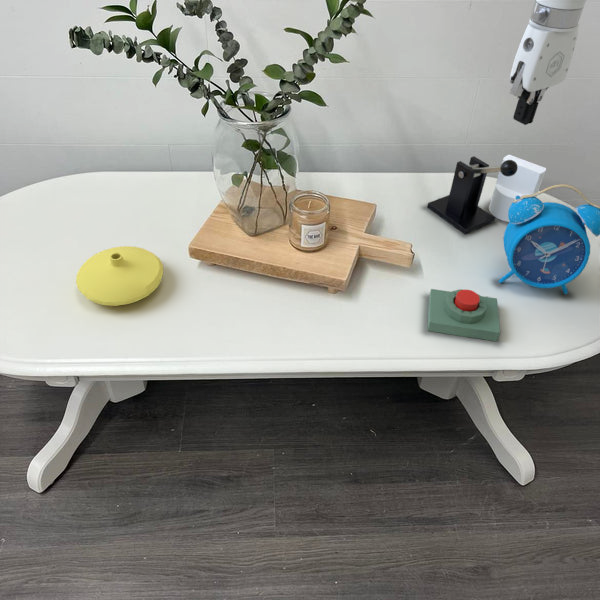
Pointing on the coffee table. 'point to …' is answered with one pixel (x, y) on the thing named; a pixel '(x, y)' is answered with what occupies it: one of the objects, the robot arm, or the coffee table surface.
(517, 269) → the alarm clock
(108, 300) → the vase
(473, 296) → the button
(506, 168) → the lever
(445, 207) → the bracket
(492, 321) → the button box
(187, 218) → the coffee table surface
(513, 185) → the base with upright slab
